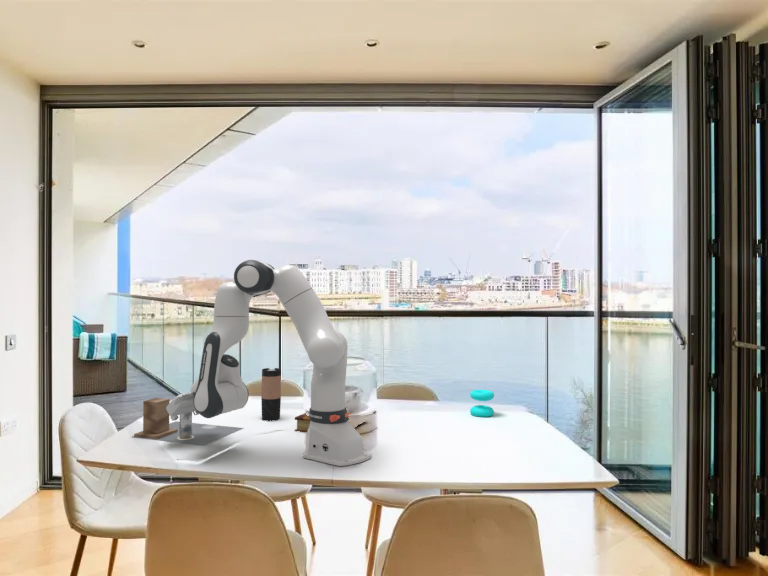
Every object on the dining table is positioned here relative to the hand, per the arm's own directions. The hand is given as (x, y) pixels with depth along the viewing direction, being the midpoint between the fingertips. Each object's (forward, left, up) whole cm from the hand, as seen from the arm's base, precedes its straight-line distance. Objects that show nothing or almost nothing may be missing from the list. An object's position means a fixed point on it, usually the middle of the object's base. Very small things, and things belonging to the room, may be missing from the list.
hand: (184, 416), depth 190 cm
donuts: (-48, -108, -9) cm, 119 cm away
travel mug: (+6, -39, -9) cm, 40 cm away
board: (+5, -4, -8) cm, 10 cm away
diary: (-20, -49, -9) cm, 54 cm away
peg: (-1, 0, -7) cm, 7 cm away
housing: (+10, +5, -7) cm, 14 cm away
